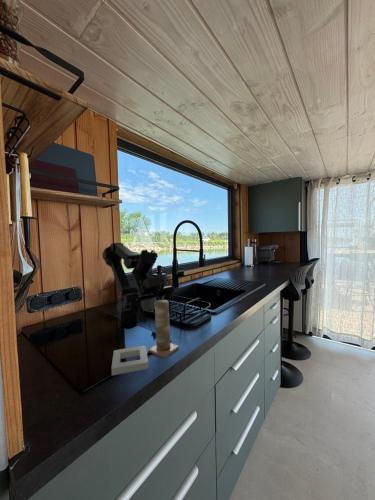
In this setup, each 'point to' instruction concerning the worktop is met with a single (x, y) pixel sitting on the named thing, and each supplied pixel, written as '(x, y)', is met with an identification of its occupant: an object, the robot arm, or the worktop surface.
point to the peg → (162, 325)
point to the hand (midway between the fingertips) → (158, 318)
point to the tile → (163, 353)
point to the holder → (131, 365)
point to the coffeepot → (150, 302)
